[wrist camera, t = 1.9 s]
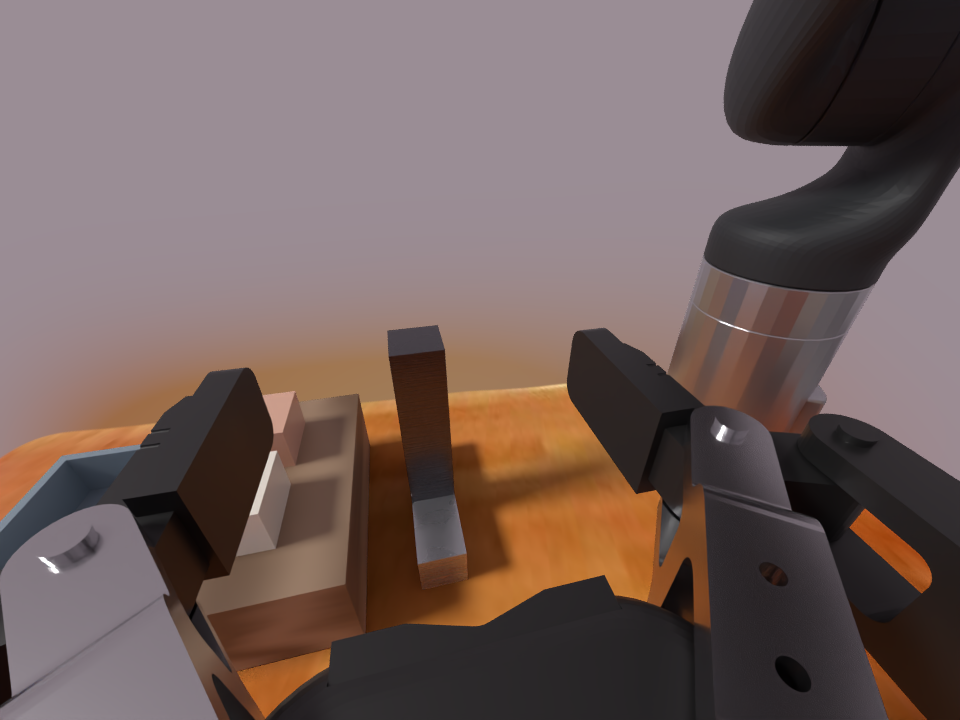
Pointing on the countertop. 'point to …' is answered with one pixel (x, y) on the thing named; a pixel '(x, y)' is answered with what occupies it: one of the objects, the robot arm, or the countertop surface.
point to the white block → (266, 509)
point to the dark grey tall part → (428, 452)
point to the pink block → (286, 425)
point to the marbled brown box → (304, 551)
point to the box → (61, 494)
